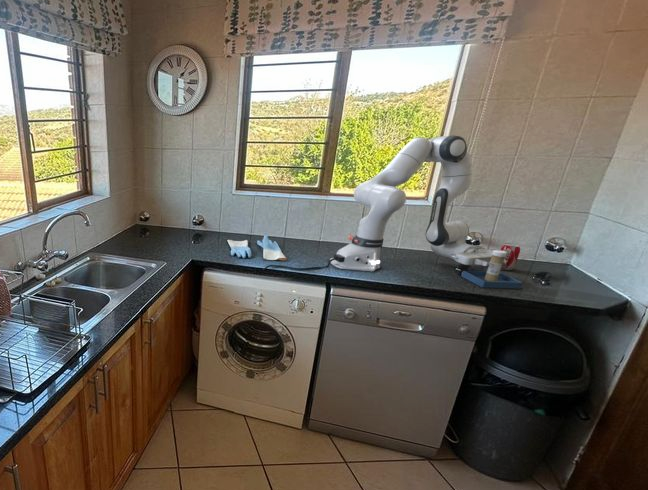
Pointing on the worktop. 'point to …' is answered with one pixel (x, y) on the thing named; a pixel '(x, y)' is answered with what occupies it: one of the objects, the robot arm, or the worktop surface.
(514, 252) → the soda can
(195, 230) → the worktop surface
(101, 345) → the worktop surface
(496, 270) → the sprinkles bottle
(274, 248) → the rubber gloves
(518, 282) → the blue tray
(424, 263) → the worktop surface
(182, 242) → the worktop surface
